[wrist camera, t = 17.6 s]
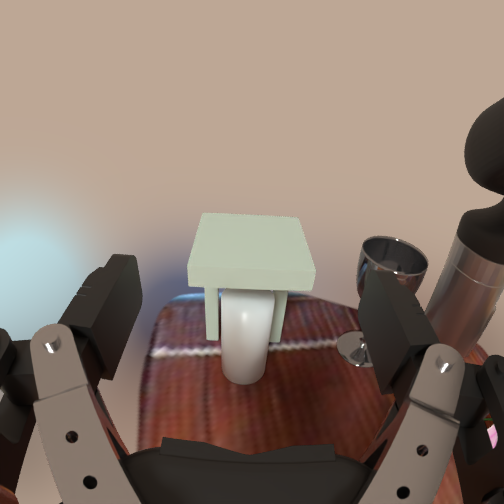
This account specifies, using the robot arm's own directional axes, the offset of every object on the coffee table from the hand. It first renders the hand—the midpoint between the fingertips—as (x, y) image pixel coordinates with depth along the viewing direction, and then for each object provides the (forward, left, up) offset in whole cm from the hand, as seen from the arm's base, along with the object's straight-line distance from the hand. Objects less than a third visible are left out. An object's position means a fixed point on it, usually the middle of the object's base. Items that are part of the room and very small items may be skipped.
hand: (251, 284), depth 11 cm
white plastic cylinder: (-1, -16, -24) cm, 29 cm away
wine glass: (-17, -19, -24) cm, 35 cm away
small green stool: (-1, -17, -24) cm, 29 cm away
